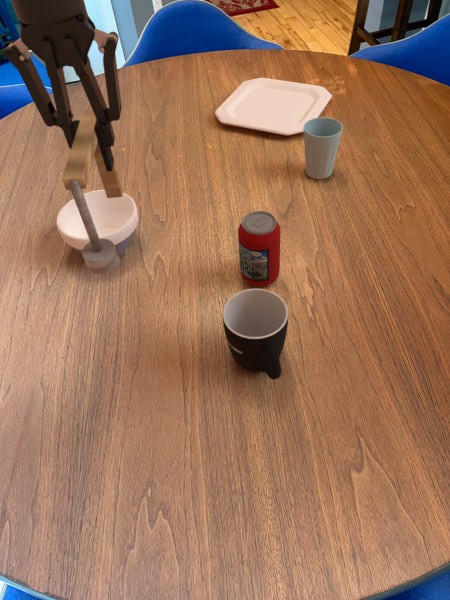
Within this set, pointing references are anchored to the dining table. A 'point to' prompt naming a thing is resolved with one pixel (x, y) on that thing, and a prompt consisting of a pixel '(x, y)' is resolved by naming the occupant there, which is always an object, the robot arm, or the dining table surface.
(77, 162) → the ladle
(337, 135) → the cup
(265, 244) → the beverage can
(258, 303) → the mug
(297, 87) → the plate
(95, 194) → the bowl
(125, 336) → the dining table surface
